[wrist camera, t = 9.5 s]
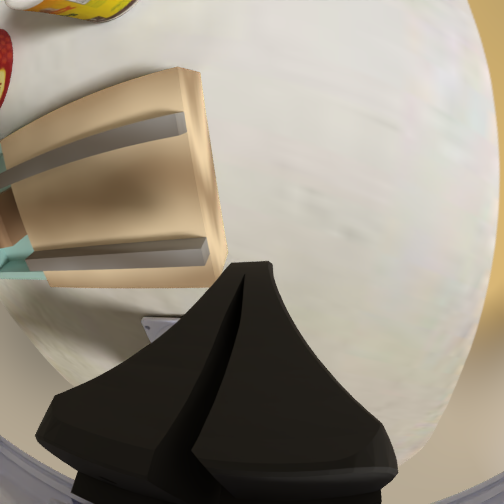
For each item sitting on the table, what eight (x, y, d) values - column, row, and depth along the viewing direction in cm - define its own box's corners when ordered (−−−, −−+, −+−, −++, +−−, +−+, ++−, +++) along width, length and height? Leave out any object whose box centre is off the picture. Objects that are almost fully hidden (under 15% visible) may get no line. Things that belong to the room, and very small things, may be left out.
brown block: (24, 227, 20) (42, 222, 19) (-4, 249, 16) (12, 246, 16) (10, 186, 18) (28, 178, 17) (-21, 205, 14) (-6, 197, 14)
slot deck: (228, 252, 20) (213, 300, 16) (75, 260, 22) (42, 295, 17) (200, 72, 14) (168, 64, 10) (35, 128, 16) (-12, 145, 11)
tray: (73, 260, 22) (55, 279, 19) (12, 263, 23) (-4, 278, 21) (34, 129, 16) (8, 138, 13) (-22, 162, 17) (-42, 173, 15)
